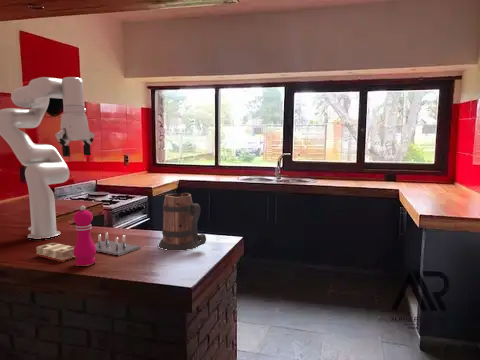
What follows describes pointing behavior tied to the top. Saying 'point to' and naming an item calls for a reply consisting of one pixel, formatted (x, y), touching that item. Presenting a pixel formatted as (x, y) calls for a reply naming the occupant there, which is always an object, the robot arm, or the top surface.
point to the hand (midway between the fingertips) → (77, 155)
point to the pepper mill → (84, 238)
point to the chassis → (114, 246)
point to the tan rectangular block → (56, 251)
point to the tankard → (180, 223)
